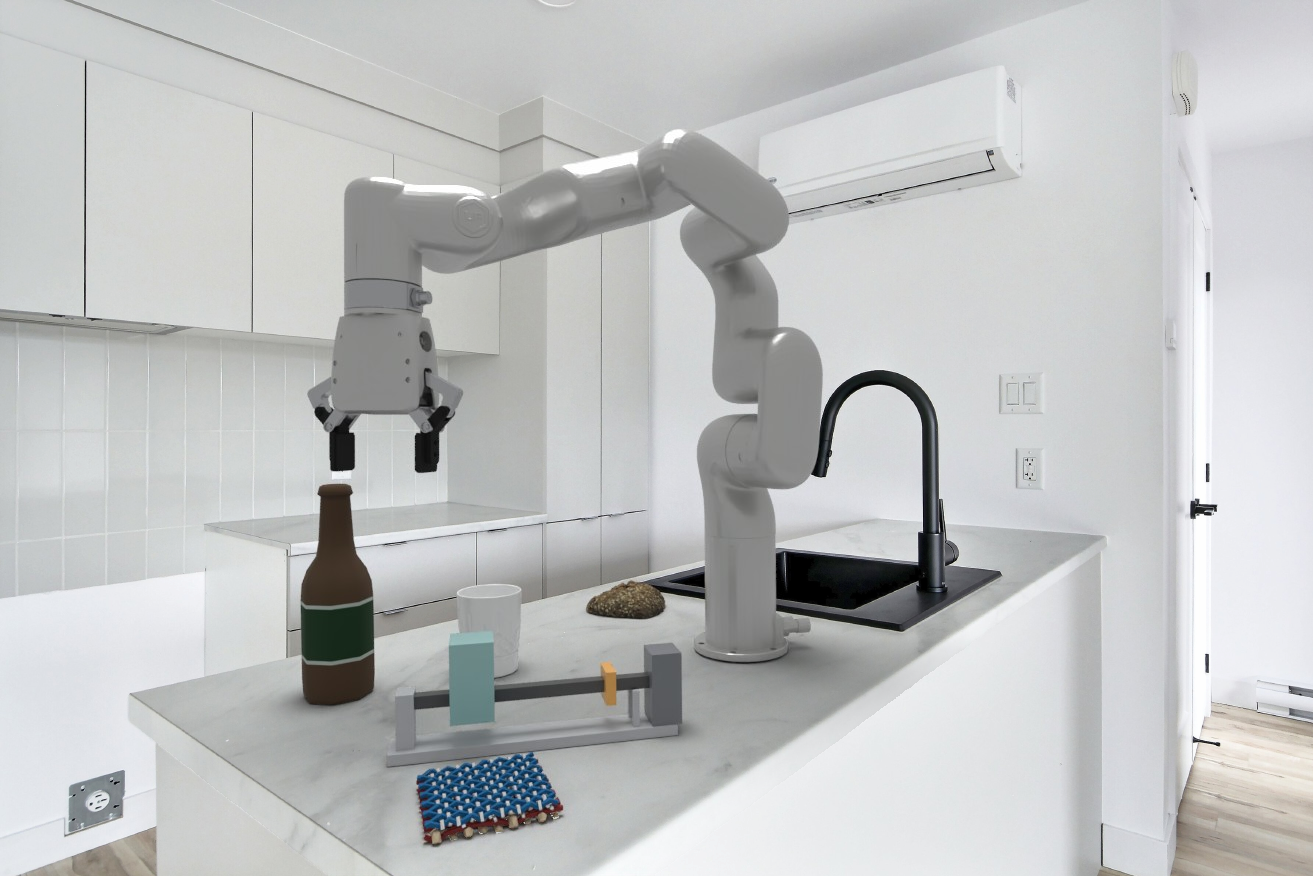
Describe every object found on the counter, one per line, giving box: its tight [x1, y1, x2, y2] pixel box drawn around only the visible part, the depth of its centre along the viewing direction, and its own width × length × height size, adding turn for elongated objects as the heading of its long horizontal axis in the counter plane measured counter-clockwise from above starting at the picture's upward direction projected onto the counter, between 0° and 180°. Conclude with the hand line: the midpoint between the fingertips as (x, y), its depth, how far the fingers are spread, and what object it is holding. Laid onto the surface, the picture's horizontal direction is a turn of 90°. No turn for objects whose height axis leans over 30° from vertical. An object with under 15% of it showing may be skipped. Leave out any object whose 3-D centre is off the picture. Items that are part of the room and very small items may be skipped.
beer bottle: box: [299, 483, 376, 706], centre depth 86 cm, size 8×8×24 cm
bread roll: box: [585, 580, 666, 620], centre depth 125 cm, size 13×12×5 cm
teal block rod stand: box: [386, 642, 683, 768], centre depth 73 cm, size 28×4×8 cm, turn 103°
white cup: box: [456, 583, 522, 679], centre depth 94 cm, size 8×8×10 cm
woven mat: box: [415, 751, 564, 845], centre depth 61 cm, size 10×11×2 cm
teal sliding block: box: [448, 631, 496, 727], centre depth 71 cm, size 4×4×7 cm
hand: (383, 471), depth 77 cm, fingers open, 9 cm apart
